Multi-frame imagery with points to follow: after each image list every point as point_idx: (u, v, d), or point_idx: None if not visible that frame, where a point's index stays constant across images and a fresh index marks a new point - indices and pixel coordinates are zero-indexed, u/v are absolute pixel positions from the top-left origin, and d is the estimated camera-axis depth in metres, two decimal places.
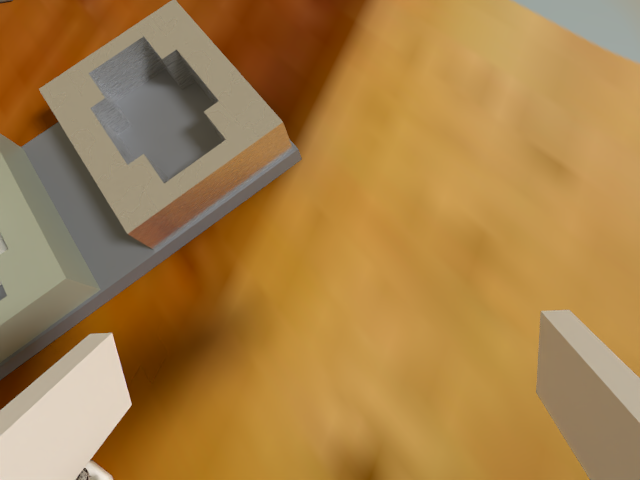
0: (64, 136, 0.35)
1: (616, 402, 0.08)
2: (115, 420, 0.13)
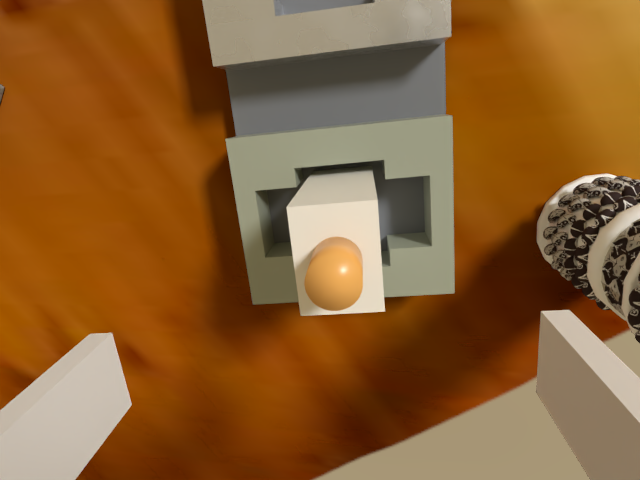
0: (250, 85, 0.31)
1: (616, 402, 0.08)
2: (115, 420, 0.13)
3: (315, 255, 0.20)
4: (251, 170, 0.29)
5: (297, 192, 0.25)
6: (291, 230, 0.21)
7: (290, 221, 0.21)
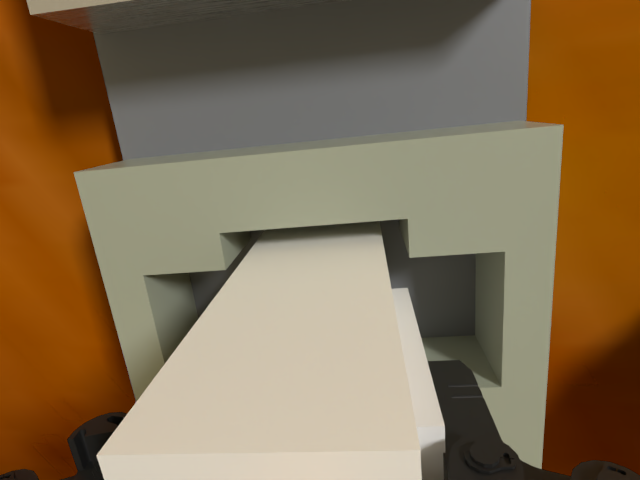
0: (143, 64, 0.16)
1: None
2: None
3: None
4: (132, 236, 0.14)
5: (194, 325, 0.10)
6: None
7: None
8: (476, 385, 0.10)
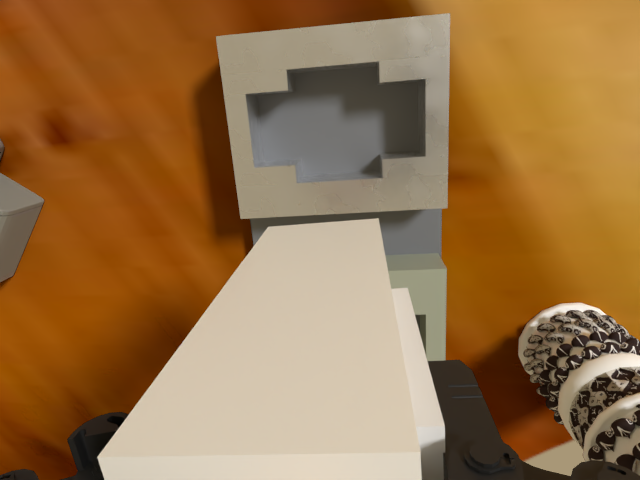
0: (270, 221, 0.35)
1: None
2: None
3: None
4: None
5: (195, 326, 0.10)
6: None
7: None
8: (476, 385, 0.10)
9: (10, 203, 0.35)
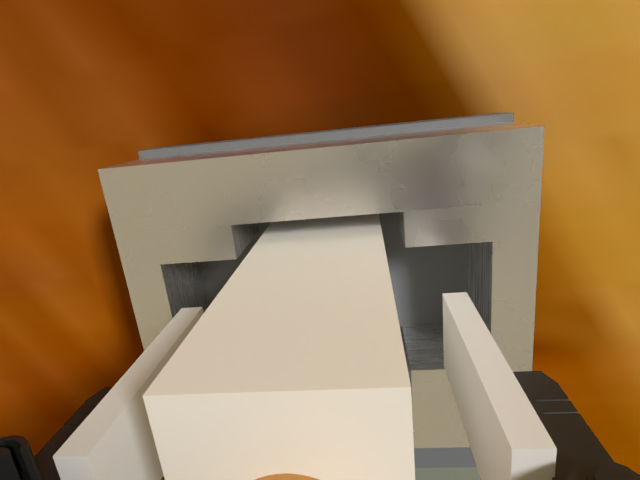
0: None
1: (471, 363, 0.10)
2: None
3: None
4: None
5: (214, 300, 0.11)
6: (163, 453, 0.08)
7: (159, 430, 0.07)
8: (566, 399, 0.09)
9: None
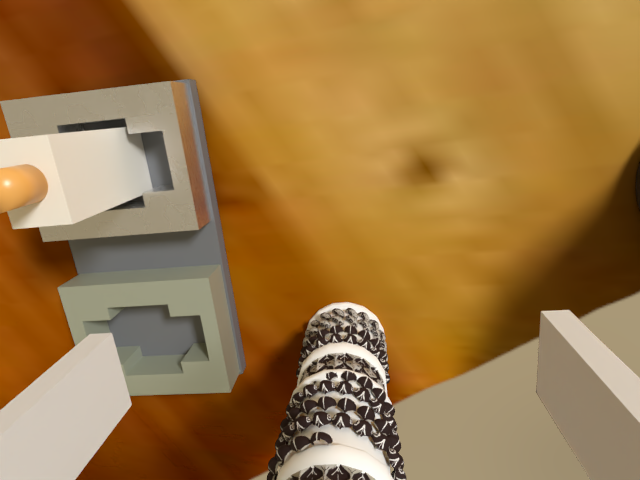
0: (84, 241, 0.43)
1: (616, 402, 0.08)
2: (114, 420, 0.13)
3: None
4: (78, 308, 0.41)
5: None
6: None
7: None
8: None
9: None
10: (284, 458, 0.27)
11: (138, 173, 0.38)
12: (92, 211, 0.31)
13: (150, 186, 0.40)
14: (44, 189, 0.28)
